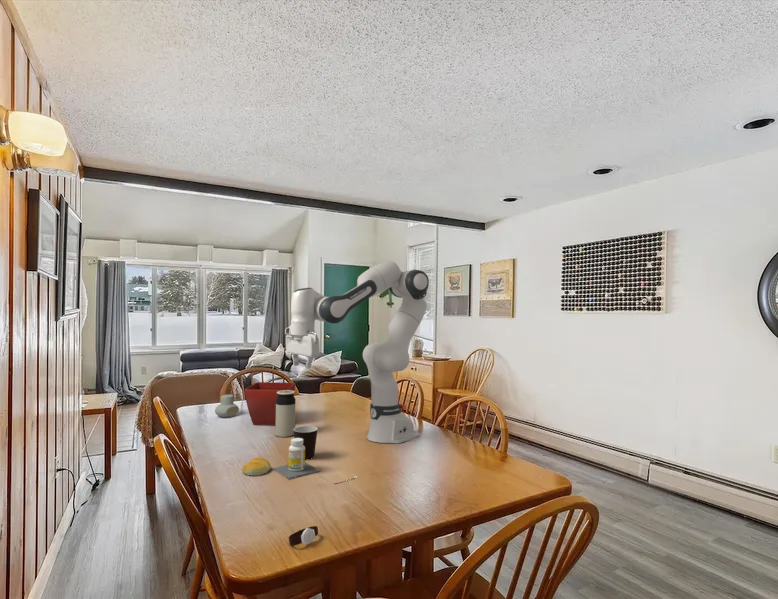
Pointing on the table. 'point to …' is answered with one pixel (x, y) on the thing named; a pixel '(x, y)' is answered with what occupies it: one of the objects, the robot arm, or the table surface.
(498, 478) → the table surface
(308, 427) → the coffee mug
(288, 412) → the travel mug
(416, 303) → the robot arm
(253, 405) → the plant pot
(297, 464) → the supplement bottle
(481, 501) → the table surface
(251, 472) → the bread roll
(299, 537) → the watch
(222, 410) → the air freshener
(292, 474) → the slate coaster
